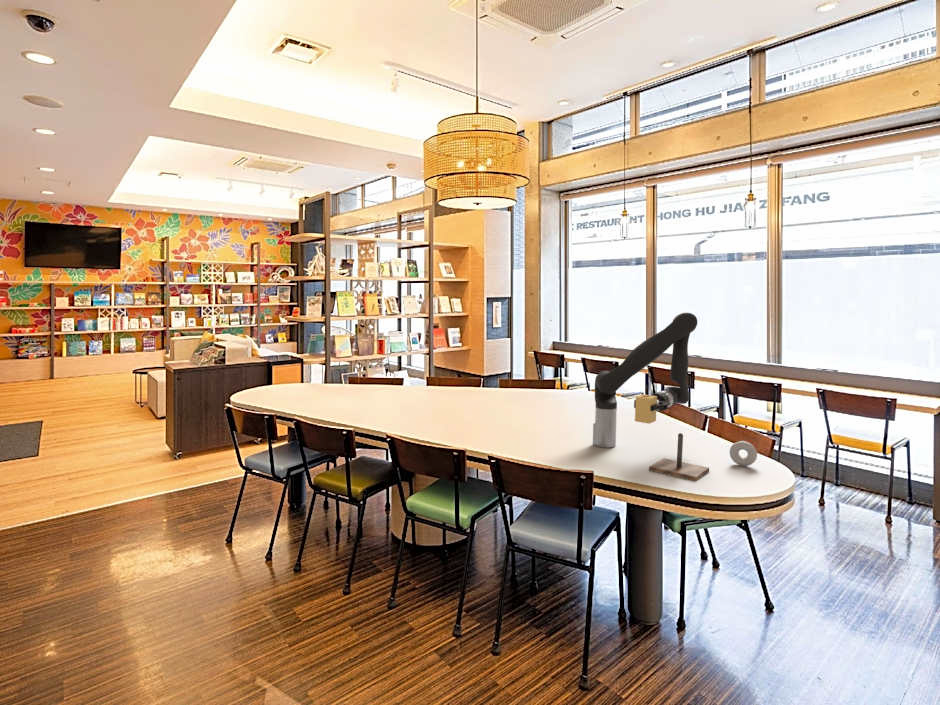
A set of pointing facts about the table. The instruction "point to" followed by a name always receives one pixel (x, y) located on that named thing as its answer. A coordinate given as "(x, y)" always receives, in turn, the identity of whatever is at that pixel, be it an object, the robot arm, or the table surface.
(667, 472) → the spindle stand
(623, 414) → the table surface
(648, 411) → the bead
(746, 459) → the donut
